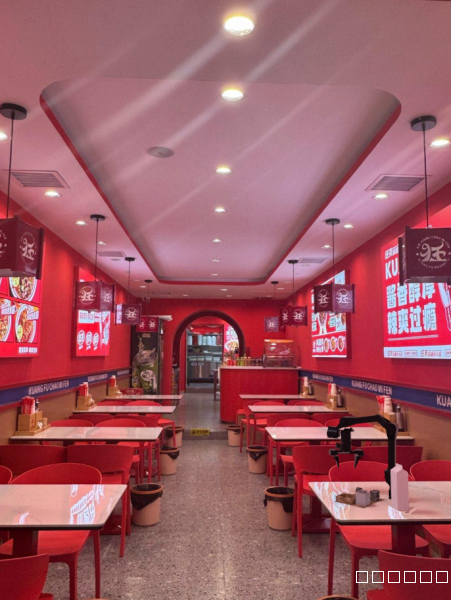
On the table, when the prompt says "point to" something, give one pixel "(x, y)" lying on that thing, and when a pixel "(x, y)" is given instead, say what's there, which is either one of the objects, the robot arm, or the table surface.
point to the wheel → (358, 489)
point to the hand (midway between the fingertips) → (346, 468)
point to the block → (363, 498)
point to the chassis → (351, 498)
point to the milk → (399, 489)
